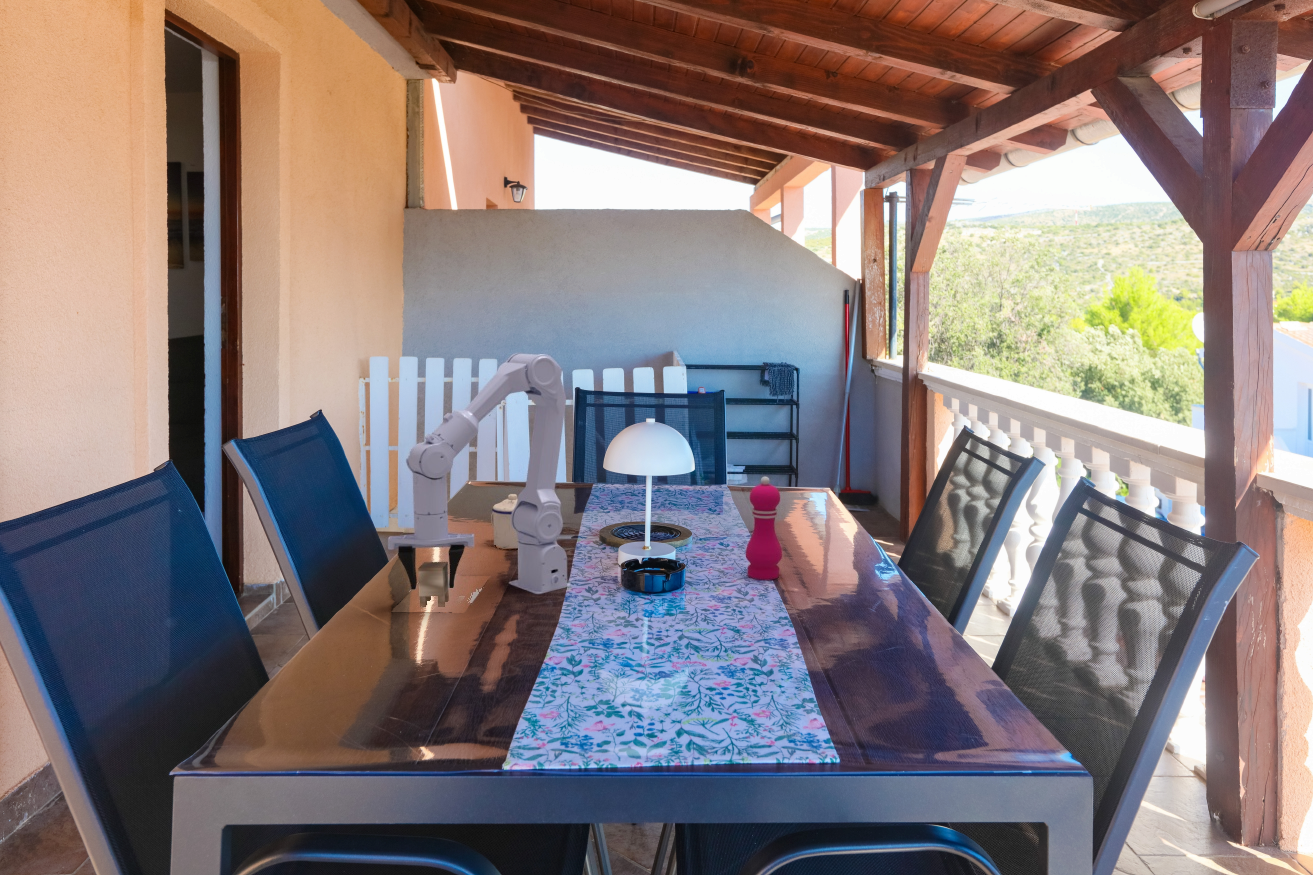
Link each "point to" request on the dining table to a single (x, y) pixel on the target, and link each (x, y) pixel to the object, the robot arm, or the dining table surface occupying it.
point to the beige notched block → (433, 582)
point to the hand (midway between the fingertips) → (433, 587)
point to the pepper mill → (764, 533)
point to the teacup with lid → (504, 523)
